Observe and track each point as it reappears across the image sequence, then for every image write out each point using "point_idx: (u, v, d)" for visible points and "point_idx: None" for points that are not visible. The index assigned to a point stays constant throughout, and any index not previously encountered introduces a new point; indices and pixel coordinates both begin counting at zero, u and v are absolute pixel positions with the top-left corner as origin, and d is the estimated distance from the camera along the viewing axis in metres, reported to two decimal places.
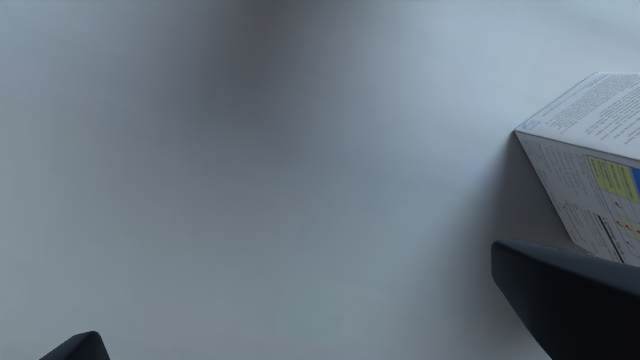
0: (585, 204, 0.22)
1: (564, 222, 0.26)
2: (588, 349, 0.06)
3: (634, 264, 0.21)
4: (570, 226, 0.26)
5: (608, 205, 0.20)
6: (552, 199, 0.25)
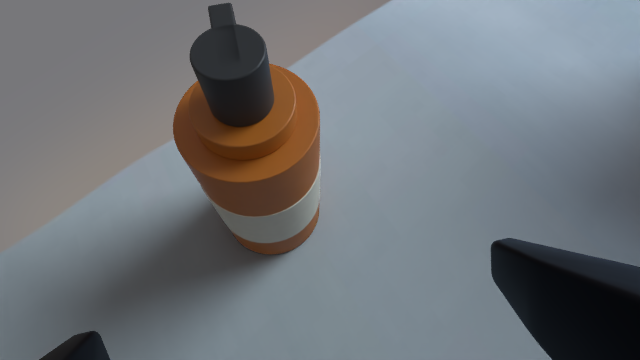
0: None
1: None
2: (588, 349, 0.06)
3: None
4: None
5: None
6: None
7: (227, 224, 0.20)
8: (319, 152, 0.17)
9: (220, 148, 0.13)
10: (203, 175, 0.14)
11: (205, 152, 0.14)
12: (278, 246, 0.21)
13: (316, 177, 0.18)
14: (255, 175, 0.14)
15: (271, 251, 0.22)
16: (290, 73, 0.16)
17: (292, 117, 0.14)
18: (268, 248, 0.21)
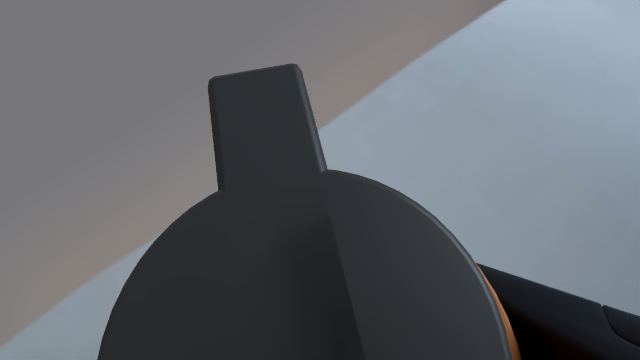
0: None
1: None
2: None
3: None
4: None
5: None
6: None
7: None
8: None
9: None
10: None
11: None
12: None
13: None
14: None
15: None
16: None
17: None
18: None
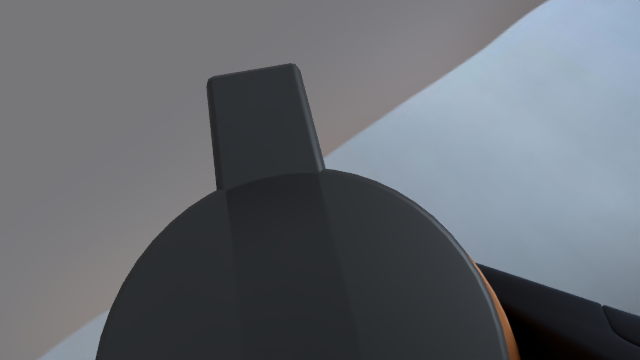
0: None
1: None
2: None
3: None
4: None
5: None
6: None
7: None
8: None
9: None
10: None
11: None
12: None
13: None
14: None
15: None
16: None
17: None
18: None
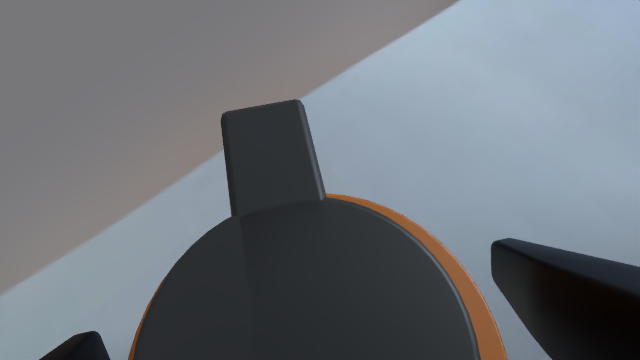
0: None
1: None
2: (588, 349, 0.06)
3: None
4: None
5: None
6: None
7: None
8: None
9: None
10: None
11: None
12: None
13: None
14: None
15: None
16: (414, 226, 0.07)
17: None
18: None
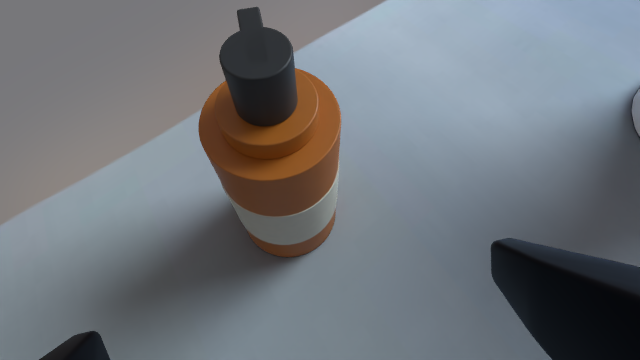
0: None
1: None
2: (588, 349, 0.06)
3: None
4: None
5: None
6: None
7: (246, 225, 0.20)
8: None
9: (245, 147, 0.14)
10: (227, 173, 0.14)
11: (230, 151, 0.15)
12: (295, 248, 0.21)
13: (335, 179, 0.18)
14: (278, 173, 0.14)
15: (287, 253, 0.22)
16: (312, 76, 0.16)
17: (315, 118, 0.14)
18: (285, 250, 0.22)
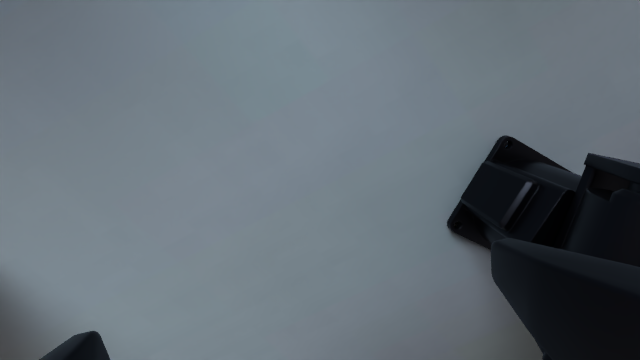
0: None
1: None
2: (588, 349, 0.06)
3: None
4: None
5: None
6: None
7: None
8: None
9: None
10: None
11: None
12: None
13: None
14: None
15: None
16: None
17: None
18: None
